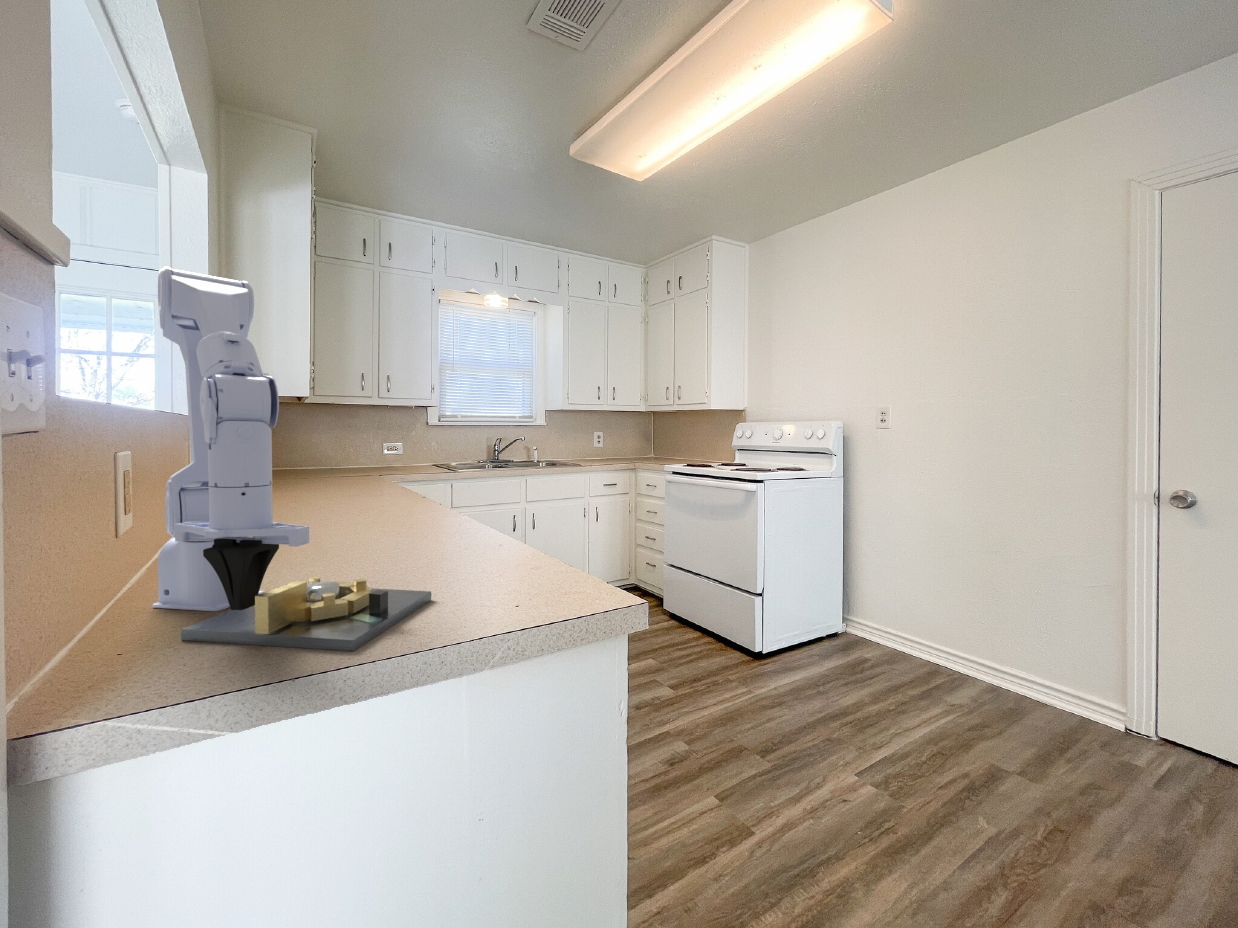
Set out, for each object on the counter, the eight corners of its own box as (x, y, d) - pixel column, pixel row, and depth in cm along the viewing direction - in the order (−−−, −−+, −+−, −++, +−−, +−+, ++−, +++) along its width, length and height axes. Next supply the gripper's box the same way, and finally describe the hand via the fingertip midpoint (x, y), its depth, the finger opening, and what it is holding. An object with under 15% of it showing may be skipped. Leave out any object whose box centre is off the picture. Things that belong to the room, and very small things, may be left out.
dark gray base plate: (181, 639, 59) (180, 604, 58) (297, 592, 76) (296, 565, 76) (353, 651, 56) (353, 613, 56) (431, 599, 74) (431, 571, 74)
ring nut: (309, 590, 72) (309, 561, 72) (386, 594, 71) (386, 565, 71) (214, 630, 58) (214, 593, 57) (310, 636, 56) (309, 599, 56)
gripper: (146, 486, 56) (149, 615, 56) (275, 490, 54) (277, 623, 55) (205, 481, 63) (207, 595, 63) (321, 484, 61) (322, 602, 62)
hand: (243, 607), depth 59 cm, fingers closed
